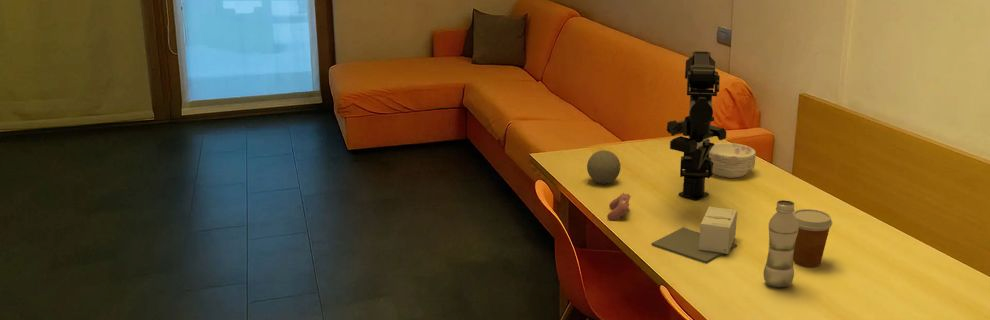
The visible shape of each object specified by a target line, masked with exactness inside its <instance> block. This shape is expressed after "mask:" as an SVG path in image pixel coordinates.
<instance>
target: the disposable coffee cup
mask: <svg viewBox="0 0 990 320" xmlns="http://www.w3.org/2000/svg"><path fill="white" fill-rule="evenodd" d="M793 214H794V216H795V217H796V219H797V221H798V223H799V230H798V234H797V237H796V241H795V247H794V253H793V263H794V264H796V265H798V266H802V267H804V268H805V267H806V268H815V267H819V266H820V265H821V263H822V259H823V256H824V251H825V247H826V244H827V240H828V239H827V238H828V236H829V232H830V229H831V227H832V226H833V221H832V216H831V215H830V214H829V213H827V212H826V211H822V210H818V209H813V208H812V209H811V208H802V209H797V210H794V212H793Z"/></svg>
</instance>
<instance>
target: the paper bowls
mask: <svg viewBox="0 0 990 320" xmlns="http://www.w3.org/2000/svg"><path fill="white" fill-rule="evenodd" d="M713 143H714V142H713ZM756 154H757V153H756V150H755V148H752V147H751V146H748V145H745V144H741V143H734V142H715V143H714V146H713V147H712V148H711V150H710V152H709V158H711V160H712V162H713V170H712V174H714V175H715V176H717V177H718V176H719V177H721V178H731V179H732V178H733V179H734V178H741V177H743V176H745V175H746V174H747V172H749V171H751V170H753V169H754V168H755V165H756Z"/></svg>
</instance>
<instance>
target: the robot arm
mask: <svg viewBox="0 0 990 320" xmlns="http://www.w3.org/2000/svg"><path fill="white" fill-rule="evenodd" d="M720 78H721V77H720V75H719V72H718V71H717V70H716V60H714V58H713V57H712V56H711V52H710V51H702V50H698V51H697V50H695V51H693V52H692V55H691V56H690V57H689V58H687V59H686V60H685V69H684V79H685V80H686V95H687V96H689V107H688V108H689V109H688V110H689V111H688V115H687V116H685V117H684V120H679V121H677V120H671V121H667V125H666V131H667V133H668V134H670V135H671V136H672V137H673V136H676V135H680V136H678V137H674V138H672V139H671V140H670V142H669V149H670V150H674V151H677V152H681V153H683V155H681V156H680V168H679V169H680V170H679V177H680V178H683V183H682V191H681V192H679V193H678V194H677V195H678V196H679V197H682V198H683V197H684V198H687V199H690V200H694V201H700V200H702V199H704V198H705V197H707V196H709V195H710V193H709V192H707V191H705V185H706V179H710V178H711V177H713V172H712V170H713V162H712V160H711V158H709V152H710V150H711V148H712V147H713V146H714V142H711V140H710V139H711V138H713V137H717V139H718V141H723V140H725V139H726V138H727V131H726V129H725V128H724V127H720V126H716V125H713V124H712V125H711V122H714V121H715V116H714V108H713V97H717V96H718V93H720V80H721V79H720ZM681 134H682V135H681Z"/></svg>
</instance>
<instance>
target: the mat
mask: <svg viewBox="0 0 990 320" xmlns="http://www.w3.org/2000/svg"><path fill="white" fill-rule="evenodd" d="M699 238H700V231H699V232H698V231H695V230H692V229H689V228H686V227H680V228H678V229H677V230H675V231H673V232H670V233H669V234H666V235H664V236H662V237H661V238H658V239H657V240H655V241H653V242H651V245H650V246H653V247H655V248H658V249H662V250H665V251H667V252H671V253H674V254H677V255H679V256H682V257H685V258H687V259H691V260H694V261H697V262H700V263H703V264H708V263H710V262H712V261H713V260H715V259H717V258H719V257H720V256H723V255H724V254H725V253H718V252H711V251H703V250H699ZM737 246H738V245H737V243H734V242H733V243H732V245H731V248H730V251H731V250H733V249H734V248H737Z"/></svg>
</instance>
